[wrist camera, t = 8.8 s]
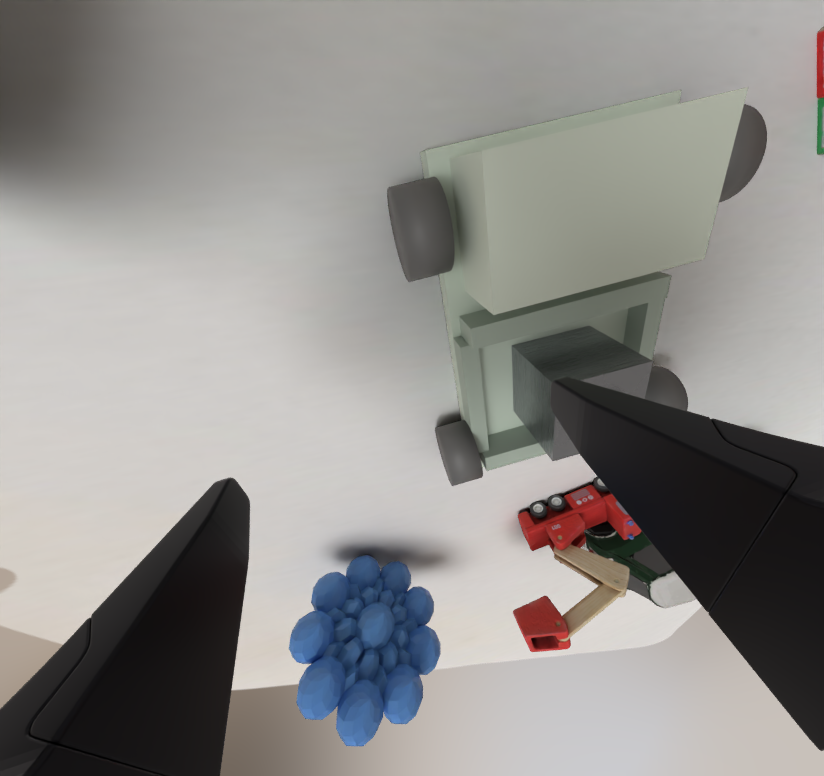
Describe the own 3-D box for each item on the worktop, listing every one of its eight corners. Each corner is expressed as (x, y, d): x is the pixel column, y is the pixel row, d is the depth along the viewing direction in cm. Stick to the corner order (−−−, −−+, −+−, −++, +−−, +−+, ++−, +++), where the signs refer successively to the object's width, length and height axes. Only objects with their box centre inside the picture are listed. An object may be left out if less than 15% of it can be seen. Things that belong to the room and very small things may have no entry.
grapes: (285, 581, 30) (258, 784, 20) (307, 531, 27) (289, 736, 17) (404, 589, 34) (433, 760, 24) (434, 546, 31) (479, 719, 21)
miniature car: (744, 471, 35) (841, 540, 28) (588, 556, 38) (643, 636, 31) (738, 418, 30) (853, 485, 24) (562, 519, 33) (619, 605, 27)
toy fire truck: (618, 490, 32) (713, 593, 24) (485, 543, 33) (533, 663, 24) (618, 467, 30) (720, 570, 22) (476, 524, 31) (526, 646, 23)
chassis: (378, 162, 16) (393, 153, 11) (698, 86, 16) (830, 50, 12) (442, 466, 26) (463, 523, 22) (634, 411, 27) (691, 455, 23)
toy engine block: (513, 410, 23) (560, 471, 18) (511, 345, 20) (566, 395, 16) (582, 392, 23) (646, 446, 18) (589, 325, 21) (666, 368, 16)
